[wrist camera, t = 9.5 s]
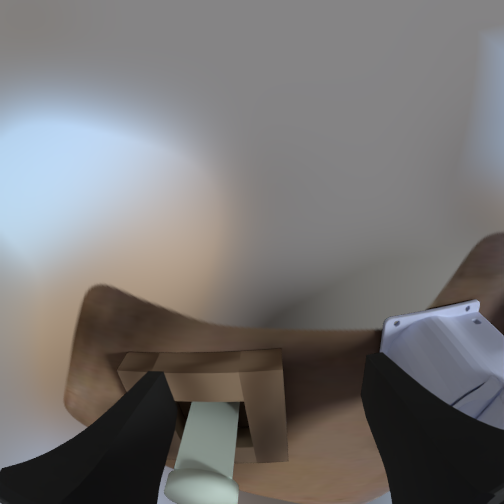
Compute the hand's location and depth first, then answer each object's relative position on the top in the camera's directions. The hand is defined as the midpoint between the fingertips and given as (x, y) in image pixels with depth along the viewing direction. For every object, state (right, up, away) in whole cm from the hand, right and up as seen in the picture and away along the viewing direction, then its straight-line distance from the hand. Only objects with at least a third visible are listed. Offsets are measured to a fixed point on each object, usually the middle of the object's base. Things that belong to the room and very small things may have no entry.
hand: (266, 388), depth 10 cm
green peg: (-4, -10, +14) cm, 18 cm away
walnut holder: (-4, -9, +14) cm, 17 cm away
